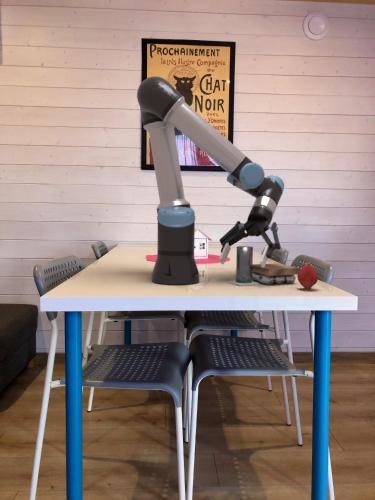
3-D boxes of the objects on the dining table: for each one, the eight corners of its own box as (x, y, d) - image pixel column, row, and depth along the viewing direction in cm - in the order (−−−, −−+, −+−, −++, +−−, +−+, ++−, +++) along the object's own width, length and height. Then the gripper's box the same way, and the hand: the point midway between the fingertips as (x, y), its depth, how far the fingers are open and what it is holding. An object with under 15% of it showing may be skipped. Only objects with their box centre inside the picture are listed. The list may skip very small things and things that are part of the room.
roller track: (265, 285, 140) (265, 275, 140) (250, 280, 148) (250, 271, 148) (295, 283, 144) (295, 273, 144) (278, 279, 152) (279, 270, 152)
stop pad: (239, 286, 137) (239, 284, 137) (228, 282, 144) (228, 280, 144) (259, 284, 140) (259, 283, 140) (247, 281, 147) (247, 279, 146)
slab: (268, 275, 138) (268, 269, 138) (248, 270, 149) (248, 264, 149) (298, 274, 142) (298, 267, 142) (276, 269, 153) (276, 263, 153)
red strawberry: (292, 288, 134) (293, 261, 133) (307, 287, 137) (308, 260, 136) (307, 292, 129) (308, 264, 128) (321, 290, 132) (322, 263, 131)
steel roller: (241, 283, 139) (242, 247, 138) (232, 281, 143) (233, 246, 142) (255, 282, 141) (256, 247, 140) (246, 280, 145) (247, 246, 144)
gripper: (301, 222, 147) (283, 274, 135) (231, 220, 160) (209, 267, 148) (296, 205, 142) (277, 257, 130) (224, 205, 155) (201, 252, 143)
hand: (241, 263), depth 139 cm, fingers open, 13 cm apart
